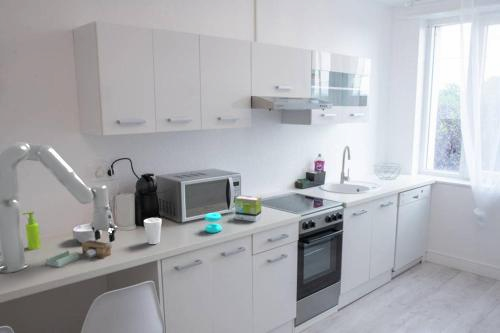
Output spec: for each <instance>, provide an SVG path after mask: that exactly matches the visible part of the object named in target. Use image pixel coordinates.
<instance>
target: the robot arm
mask: <svg viewBox="0 0 500 333" xmlns="http://www.w3.org/2000/svg"><path fill="white" fill-rule="evenodd" d="M24 161H33V162H40V164H41V165H42V166H43V167H44V168H45V169H46V170H47V171H49V172H50V174H51V175H52V176H53V177H54V178H55V179H56V180H57V181H58V182H59V184H61V186H63V187H64V188H65V189H66V190H67V191H68V192H69V193H70V194H71V196H72V197H74V199H75V200H76V201H77V202H78V203H79V204H82V205H89V204H90V203H92V204H93V214H92V215H93V216H92V217H93V219H92V220H93V222H91V223H89V224H90V225H91V227H92V230H93V232H94V233H95V240H96V241H98V240H99V239H101V235H100V231H99V230H102V232H108V234H109V235H108V239H109V240H108V242H110V243H112V242H115V241H116V236H115V233H116V232H117V228H118V226H117V225H116V224H115V222H114V221H115V220H114V218H113V217H114V216H113V213H112V211H111V207H110V202H109V192H108V187H107V185H106V184H96V185H89V186H88V185H86V184H85V183H84V182H83V181H82V180H81V178H80V177H79V176H78V175H77V174H76V172H75V170H74V169H73V168H72V167H71V166H70V165H69V164H68V163H67V161H65V159H63V157H61V155H60V153H58V152H57V151H56V150H55V148H54V147H53V146H51V145H48V144H38V143H31V142H24V141H16V142H14V143H12V144H11V145H10V146H8V147H7V148H5V149H4V150H2V151H1V152H0V256H1V257H0V258H1V260H0V273H3V274H5V273H6V274H8V273H15V272H20V271H23V270H24V269H25V270H26V268H28V267H29V266H30V261H29V260H27V259H26V255H25V246H24V245H25V244H24V238H23V229H22V222H21V221H22V220H21V195H20V194H21V193H20V192H21V191H20V183H19V181H18V167H19V165H20V163H21V162H24Z"/></svg>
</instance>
